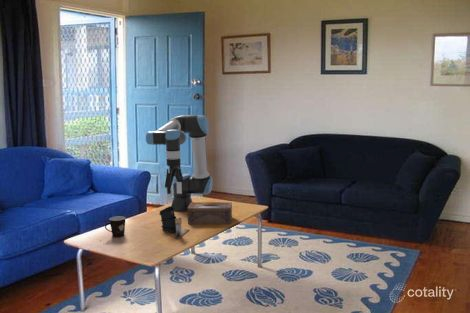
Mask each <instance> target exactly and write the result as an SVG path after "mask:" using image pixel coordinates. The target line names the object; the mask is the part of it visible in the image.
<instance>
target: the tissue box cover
mask: <svg viewBox="0 0 470 313" xmlns="http://www.w3.org/2000/svg"><path fill="white" fill-rule="evenodd" d="M232 203H233V202H230V201H229V202H225V201H224V202H223V201H221V202H219V201H218V202H217V201H216V202H215V201H213V202H208V201H207V202H205V201H202V202H199V201H195V202H193V201H192V202H191V203H190V205H189V207H188V211H187V224H188V225H231V223H232V218H233V206H232V205H233V204H232Z"/></svg>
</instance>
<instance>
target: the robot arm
mask: <svg viewBox="0 0 470 313" xmlns="http://www.w3.org/2000/svg"><path fill="white" fill-rule="evenodd" d="M209 132H210V123H209V119H208V117H207V116H206V115H203V114H202V115H201V114H182V115H178V116H175V117H173V118H171V119H169V120H168V121H167V122H166V124H164V125H163V126H160V127H159V128H158V129H157V130H155V131H154V130H153V131H152V130H151V131H150V130H149V131H147V132H146V133H145V141H146V143H147V145H151V146H153V145H156V146H158V145H159V146H161V145H162V146H165V151H166V152H165V155H166V166H167V167H169V168H167V169H166V176H165V182H164V187H165V189H166V197H167V198H166V200H171V205H170V206H173V208H174V209H173V210H174V212H175V211H176V212H188V207H189V205H190V203H191V202H193V200H192V196H191V195H209V194H210V193H211V192H212V189H213V184H214V179H213V177H212V176H210V173H209V172H208V167H207V166H208V165H207V151H206V140H205V139H206V137H207V136H208V134H209ZM187 134H188V138H190V139H191V148H192V149H191V150H192V161H193V164H192V165H193V173H192V175H191V174H190V173H182V169H181V168H182V167H181V145H183V144H184V143H185V142H186V141H187Z"/></svg>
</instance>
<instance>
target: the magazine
mask: <svg viewBox="0 0 470 313" xmlns="http://www.w3.org/2000/svg"><path fill="white" fill-rule="evenodd" d="M173 209H174V208H173V206H171V205H170V206H167V207H165V208H164V209H161V210H159V215H160V218H161V220H160V221H161V223H162V225H161V226H160V227H161V228H162V230H163V231H165V232H167V233H170V234H172V235H173V234H176V224H175V218H177V216H176V214H175V211H174V210H173Z"/></svg>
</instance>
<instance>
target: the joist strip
mask: <svg viewBox="0 0 470 313" xmlns="http://www.w3.org/2000/svg"><path fill="white" fill-rule="evenodd" d="M189 231H190V228H189V229H188V228H185V229H184V230H181V233H182V236H181V237H183V236H184V235H185V234H186V233H188V232H189ZM181 237H176V236H175V237H174V239H177V240H178V239H179V240H180V238H181Z"/></svg>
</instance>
